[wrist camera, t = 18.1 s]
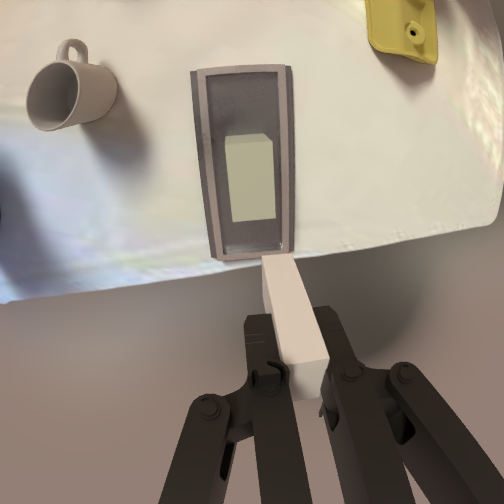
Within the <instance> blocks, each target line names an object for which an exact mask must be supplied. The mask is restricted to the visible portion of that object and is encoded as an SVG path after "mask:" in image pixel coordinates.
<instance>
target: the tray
mask: <svg viewBox="0 0 504 504" xmlns="http://www.w3.org/2000/svg"><path fill="white" fill-rule="evenodd" d="M190 75H191V88H192V101H193V112H194V122H195V133H196V142H197V152H198V160H199V169H200V178H201V186H202V194H203V201H204V209H205V216H206V223H207V231H208V237H209V244H210V251H211V257H212V258H213V257H217V260H218V261H226V260H237V259H248V258H259V257H262V256H265V255H276V254H288V253H289V251H292V250H293V240H294V136H293V102H292V79H291V66H285V65H283V64H266V65H239V66H225V67H214V68H205V69H197V71H191V72H190ZM261 133H263V134H265V135H266V136H267V137H268V138H269V139H270V140H271V141H272V143H273V164H274V186H275V213H276V218H272V219H261V220H251V221H240V222H233V220H232V211H231V202H230V192H229V183H228V173H227V163H226V153H225V138H226V136H236V135H247V134H261Z"/></svg>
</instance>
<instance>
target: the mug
mask: <svg viewBox="0 0 504 504" xmlns="http://www.w3.org/2000/svg"><path fill="white" fill-rule="evenodd" d="M70 46H71V47H74V48H75V49H76V50H77V54H78V59H77V62H75V61H69V58H68V51H69V47H70ZM116 96H117V81H116V78H115V76H114V74H113V73H112V72H111V71H110V70H109V69H107V68H105V67H102V66H98V65H93V64H88V49H87V46H86V45H85V43H83V42H82V41H80V40H78V39H68V40H65V41H63V42H62V43H61V44H60V45H59V47H58V50H57V55H56V61H54V62H51V63H49V64H47V65H46V66H44V67H43V68H42V69H41V70H40V71H39V72H38V73H37V74H36V75H35V77H34V78H33V80H32V82H31V84H30V86H29V89H28V92H27V97H26V110H27V114H28V117H29V120H30V121H31V123H32V124H33V125H34V126H35V127H36V128H38V129H39V130H42V131H54V130H58V129H62V128H65V127H69V126H73V125H77V124H81V123H85V122H91V121H94V120H97V119H99V118H101V117H102V116H104V115H105V114H106V113H107V112H108V111H109V110H110V109H111V107H112V106H113V104H114V102H115V99H116Z"/></svg>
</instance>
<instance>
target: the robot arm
mask: <svg viewBox="0 0 504 504" xmlns="http://www.w3.org/2000/svg"><path fill="white" fill-rule="evenodd" d="M262 278H263V279H262V280H263V300H264V305H265V311H266V314H258V315H248V316H247V318H246V320H245V323H244V335H245V346H246V347H245V348H246V358H247V370H248V377H247V380H246V383H245V384H244V385H243V387H241V388H240V389H239V390H237V391H235V392H233V393H230V394H228V395H225V396H219V395H216V394H204V395H201V396H199V397H198V398H196V399H195V400H194V401H193V402H192V404H191V406H190V408H189V411H188V415H187V417H186V420H185V423H184V426H183V429H182V432H181V435H180V439H179V442H178V444H177V448H176V451H175V454H174V457H173V460H172V463H171V466H170V469H169V472H168V475H167V478H166V481H165V484H164V487H163V491H162V494H161V497H160V500H159V503H158V504H223V503H224V498H225V494H226V490H227V485H228V481H229V476H230V472H231V468H232V463H233V459H234V454H235V450H236V445H237V442H239V441H241V440H244V439H246V438H249V437H251V436H254V442H255V451H256V461H257V469H258V478H259V487H260V496H261V503H262V504H313V503H312V498H311V493H310V488H309V483H308V477H307V472H306V468H305V462H304V457H303V452H302V447H301V442H300V437H299V432H298V427H297V422H296V417H295V412H294V407H293V401H299V400H306V399H311V398H317V397H319V395H320V391H321V395H322V398H323V403H322V406H321V409H320V411H319V417H322V415H323V416H324V419H325V423H326V427H327V431H328V435H329V439H330V443H331V447H332V451H333V456H334V460H335V464H336V468H337V472H338V476H339V481H340V485H341V489H342V493H343V498H344V503H345V504H416V503H415V499H414V496H413V493H412V489H411V486H410V483H409V480H408V477H407V473H406V471H405V467H404V465H405V466H406V468H407V469H408V471H409V472H410V473H411V475H412V476H413V478H414V479H415V481H416V482H417V484H418V485H419V487H420V488H421V490H422V491H423V493H424V494H425V496H426V497H427V499H428V500H429V502H430V503H431V504H504V479H503V477H502V476H501V474H500V473H499V471H498V470H497V468H496V467H495V466H494V464H493V463H492V461H491V460H490V459H489V457H488V456H487V454H486V453H485V452H484V450H483V449H482V448H481V446H480V445H479V444H478V442H477V441H476V440H475V438H474V437H473V436H472V434H471V433H470V432H469V430H468V429H467V428H466V426H465V425H464V424H463V423H462V421H461V420H460V419H459V418H458V416H457V415H456V414H455V412H454V411H453V410H452V409H451V408H450V406H449V405H448V404H447V403H446V401H445V400H444V399H443V398H442V397H441V395H440V394H439V393H438V392H437V390H436V389H435V388H434V387H433V386H432V384H431V383H430V382H429V381H428V380H427V378H426V377H425V376H424V375H423V374H422V373H421V371H420V370H419V369H418V368H417V367H416V366H415V365H413V364H411V363H408V362H399V363H396V364H395V365H393V367H391V369H390V370H385V369H372V368H368V367H366V366H365V365H364V364H363V363H361V362H360V361H358V360H357V358H356V357H355V354H354V352H353V350H352V347H351V345H350V343H349V340H348V338H347V336H346V333H345V331H344V329H343V326H342V324H341V323H340V320H339V317H338V315H337V313H336V312H335V311H334V310H333V309H332V308H331V307H330V306H322V307H314V308H312V307H311V304H310V301H309V299H308V296H307V293H306V291H305V288H304V285H303V283H302V280H301V277H300V275H299V272H298V269H297V267H296V264H295V262H294V259H293V256H292V254H291V253H288V254H276V255H265V256H262ZM403 463H404V464H403Z"/></svg>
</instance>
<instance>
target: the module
mask: <svg viewBox="0 0 504 504" xmlns="http://www.w3.org/2000/svg"><path fill="white" fill-rule="evenodd" d="M225 153H226V163H227V173H228V183H229V192H230V202H231V211H232V220H233V222H240V221H251V220H261V219H272V218H276V213H275V186H274V164H273V143H272V141H271V140H270V139H269V138H268V137H267V136H266V135H265V134H263V133H261V134H247V135H236V136H226V138H225Z"/></svg>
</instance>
